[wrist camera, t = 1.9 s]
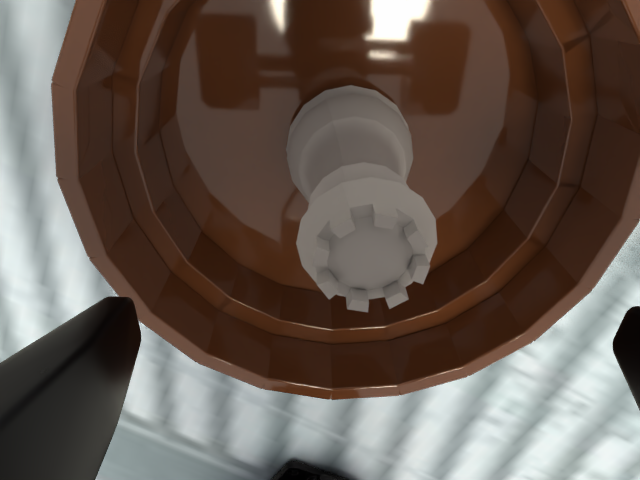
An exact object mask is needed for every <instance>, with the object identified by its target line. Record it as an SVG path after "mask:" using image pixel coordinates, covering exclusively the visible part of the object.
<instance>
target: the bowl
mask: <svg viewBox="0 0 640 480" xmlns="http://www.w3.org/2000/svg"><path fill="white" fill-rule="evenodd" d="M349 85H352V86H357V87H362V88H367V89H371V90H376V91H377V92H379V93H380V94H382V95H383V96H384V97H386V98H387V99H389V100H390V101H391V102H393V103H394V104H395V105H397V107H398V109H399V111H400V112H401V114H402V116H403V118H404V119H405V121H406V123H407V125H408V128H409V132H410V134H411V139H412V150H413V162H412V165H411V168H410V171H409V174H408V177H407V180H406V184H407V185H408V187H409V189H411V190H412V191H414V192H415V193H417V194H418V195H420V196H421V197H423V199H424V201H425V202H426V204H427V206H428V207H429V209H430V211H431V212H432V214H433V216H434V217H435V219H436V232H437V245H436V248H435V250H434V253H433V255H432V258H431V260H430V263H429V264H430V268H429V271H428V273H427V276H426V278H425V281H424V284H421V283H418V282H415V281H413V282H412V283H411V284H410V285H408V286H406V287H405V288H406V291H407V295H408V298H409V299H408V300H406V301H404V302H402V303H400V304H399V305H397V306H395V307H393V308H391V309H389V306H388V304H387V302H386V299H385V297H381V298H375V299H369V307H368V312H362V311H356V310H349V309H347V304H346V297H344V296H339V295H337V294H336V295H334V296H333V297H332V298H331V299H328V298H327V296H326V295H325V294H324V293H323V292H322V290H321V289H320V288H319V287H318V286H317V283H316V282H315V281H314V280H313V279H312V277H311V276H310V275H309V274H308V273H307V271H306V270H305V269H304V268H303V266H302V264H301V260H300V256H299V252H298V249H297V245H296V242H297V237H298V232H299V227H300V222H301V219H302V217H303V216H304V215H305V213H306V212H307V210H308V206H309V202H308V201H307V200H306V199H305V197H304V196H303V195H302V193H301V192H300V191H299V189H298V188H297V187H296V185H295V184H294V183H293V181H292V178H291V174H290V170H289V165H288V161H287V152H286V148H287V142H288V136H289V130H290V126H291V124H292V123H293V121H294V119H295V118H296V116H297V115H298V113H299V112H300V110H301V109H302V107H303V105H305V104H306V103H308V102H309V101H310V100H312V99H313V98H315V97H316V96H318V95H319V94H321V93H322V92H324V91H325V90H330V89H335V88H340V87H345V86H349ZM51 91H52V108H53V126H54V144H55V162H56V176H57V178H58V179H57V181H58V183H59V186H60V188H61V191H62V193H63V196H64V198H65V201H66V203H67V206H68V208H69V211H70V213H71V216H72V218H73V221H74V223H75V226H76V228H77V231H78V233H79V236H80V238H81V241H82V243H83V246H84V248H85V251H86V253H87V256H88V257H90V258H89V259H90V261H91V262H92V263H93V265H94V266H95V267H96V268H97V270H98V271H99V272H100V273H101V275H102V276H103V277H104V278H105V280H106V281H107V282H108V283H109V285H110V286H111V287H112V288H113V290H114V291H115V292H116V293H117V295H118V296H119V297H129V298H131V299H132V300H133V302H134V304H135V309H136V313H137V318H138V320H139V321H140V322H141V323H143V324H144V325H145V326H147V327H148V328H150V329H151V330H152V331H154V332H155V333H156V334H158V335H159V336H161V337H162V338H163V339H165V340H166V341H167V342H169V343H170V344H172V345H173V346H174V347H176V348H177V349H178V350H180V351H181V352H183V353H184V354H185V355H187V356H188V357H189V358H191V359H192V360H194V361H195V362H198V363H199V364H201V365H204V366H206V367H209V368H211V369H213V370H216V371H218V372H221V373H223V374H226V375H228V376H231V377H233V378H236V379H238V380H241V381H243V382H246V383H248V384H251V385H253V386H256V387H258V388H261V389H262V388H263V389H265V390H272V391H278V392H284V393H291V394H297V395H303V396H310V397H316V398H322V399H332V400H336V399H353V398H370V397H387V396H399V395H404V394H408V393H411V392H415V391H419V390H422V389H426V388H429V387H433V386H436V385H440V384H444V383H447V382H451V381H454V380H458V379H461V378H465V377H467V376H470V375H472V374H474V373H476V372H478V371H480V370H482V369H483V368H485V367H487V366H489V365H491V364H493V363H495V362H496V361H498V360H500V359H502V358H504V357H506V356H508V355H510V354H511V353H513V352H515V351H517V350H519V349H521V348H523V347H525V346H526V345H528V344H530V343H532V342H533V341H535V340H536V339H538V338H539V337H540V336H541V335H542V334H543V333H544V332H546V331H547V330H548V329H549V328H550V327H551V326H552V325H554V324H555V323H556V322H557V321H558V320H559V319H560V318H562V317H563V316H564V315H565V314H566V313H567V312H568V311H569V310H571V309H572V308H573V307H574V306H575V305H576V304H577V303H579V302H580V301H581V300H582V299H583V298H584V297H585V296H587V295H588V294H589V293H590V292H591V291H592V289H593V288H594V287H595V286H596V284H597V283H598V282H599V280H600V279H601V277H602V276H603V274H604V273H605V271H606V270H607V268H608V267H609V265H610V264H611V262H612V261H613V260H614V258H615V257H616V255H617V254H618V252H619V251H620V249H621V248H622V246H623V245H624V243H625V242H626V240H627V239H628V238H629V236H630V235H631V233H632V232H633V230H634V229H635V227H636V226H637V224H638V223H639V221H640V220H639V219H640V0H76V1H75V4H74V8H73V11H72V14H71V18H70V21H69V24H68V27H67V31H66V34H65V37H64V41H63V44H62V47H61V50H60V54H59V57H58V60H57V64H56V67H55V70H54V73H53V77H52V84H51Z"/></svg>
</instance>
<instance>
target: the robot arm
mask: <svg viewBox="0 0 640 480" xmlns="http://www.w3.org/2000/svg"><path fill="white" fill-rule="evenodd" d="M140 343H141V331H140V326H139V322H138V318H137V313H136V309H135V304H134V302H133V300H132V299H131V298H129V297H106V298H104V299H103V300H101V301H99V302H98V303H96V304H94V305H93V306H91V307H90V308H88V309H86V310H85V311H83V312H82V313H80V314H78V315H77V316H75V317H74V318H72V319H70V320H69V321H67V322H65V323H64V324H62V325H61V326H59V327H57V328H56V329H54V330H53V331H51V332H49V333H48V334H46V335H44V336H43V337H41V338H40V339H38V340H36V341H35V342H33V343H32V344H30V345H28V346H27V347H25V348H24V349H22V350H20V351H19V352H17V353H15V354H14V355H12V356H11V357H9V358H7V359H6V360H4V361H3V362H1V363H0V480H95V478H96V476H97V474H98V471H99V469H100V466H101V464H102V461H103V459H104V456H105V454H106V452H107V449H108V447H109V444H110V442H111V439H112V437H113V434H114V432H115V429H116V426H117V424H118V420H119V417H120V414H121V411H122V407H123V404H124V400H125V397H126V393H127V390H128V386H129V383H130V379H131V376H132V372H133V368H134V365H135V361H136V358H137V354H138V351H139V347H140ZM613 351H614V354H615V357H616V359H617V361H618V363H619V366H620V368H621V370H622V372H623V374H624V377H625V379H626V381H627V383H628V385H629V388H630V390H631V392H632V394H633V396H634V399H635V401H636V403H637V405H638V408H639V410H640V306H635V307H632V308H630V309H629V310H628V311H627V312H626V314H625V316H624V318H623V320H622V322H621V325H620V327H619V329H618V331H617V333H616V335H615V337H614V340H613ZM271 480H347V479H345V478H342V477H339V476H336V475H334V474H331V473H328V472H325V471H323V470H320V469H317V468H314V467H312V466H309V465H306V464H303V463H301V462H298V461H290V462H288V463H286V465H285V466H284V467H283V468H282V469H281V470H280V471H279V472H278V473H277V474H276V475H275V476H274V477H273V478H272V479H271Z"/></svg>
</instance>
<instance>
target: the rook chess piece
mask: <svg viewBox="0 0 640 480" xmlns="http://www.w3.org/2000/svg"><path fill="white" fill-rule="evenodd" d="M286 152H287V161H288V165H289V170H290V174H291V178H292V181H293V183H294V184H295V185H296V187H297V188H298V189H299V191H300V192H301V193H302V195H303V196H304V197H305V199H306V200H307V201H308V202H309V206H308V210H307V212H306V213H305V215H304V216H303V217H302V219H301V222H300V227H299V232H298V237H297V242H296V245H297V249H298V252H299V256H300V260H301V264H302V266H303V268H304V269H305V270H306V271H307V273H308V274H309V275H310V276H311V277H312V279H313V280H314V281H315V282H316V283H317V286H318V287H319V288H320V289H321V290H322V292H323V293H324V294H325V295H326V296H327V298H328V299H331V298H332V297H333V296H334V295H336V294H337V295H339V296H344V297H346V304H347V309H349V310H356V311H362V312H368V307H369V299H375V298H381V297H385V299H386V302H387V304H388V306H389V309H391V308H393V307H395V306H397V305H399V304H400V303H402V302H404V301H406V300H408V299H409V298H408V295H407V291H406V288H405V287H406V286H408V285H410V284H411V283H412V282H413V281H415V282H418V283H421V284H424V281H425V278H426V276H427V273H428V271H429V268H430V264H429V263H430V260H431V258H432V255H433V253H434V250H435V248H436V245H437V232H436V219H435V217H434V216H433V214H432V212H431V211H430V209H429V207H428V206H427V204H426V202H425V201H424V199H423V197H421V196H420V195H418V194H417V193H415V192H414V191H412V190H411V189H409V187H408V185H407V184H406V180H407V177H408V174H409V171H410V168H411V165H412V162H413V150H412V139H411V134H410V132H409V128H408V125H407V123H406V121H405V119H404V118H403V116H402V114H401V112H400V111H399V109H398V107H397V105H395V104H394V103H393V102H391V101H390V100H389V99H387V98H386V97H384V96H383V95H382V94H380V93H379V92H377V91H376V90H371V89H367V88H362V87H357V86H352V85H349V86H345V87H340V88H335V89H330V90H325V91H324V92H322V93H321V94H319V95H318V96H316V97H315V98H313V99H312V100H310V101H309V102H308V103H306V104H305V105H303V107H302V109H301V110H300V112H299V113H298V115H297V116H296V118H295V119H294V121H293V123H292V124H291V126H290V130H289V136H288V142H287V148H286Z"/></svg>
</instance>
